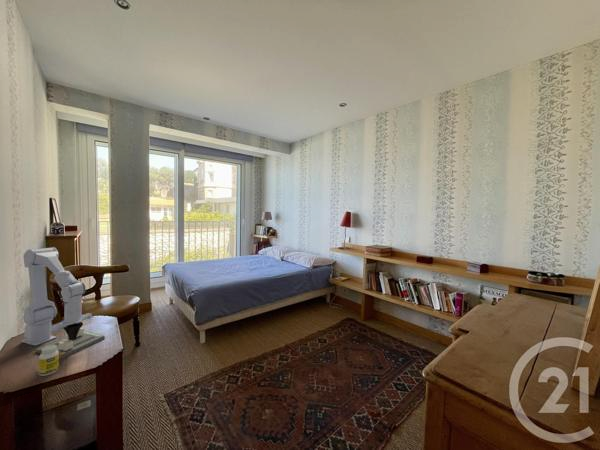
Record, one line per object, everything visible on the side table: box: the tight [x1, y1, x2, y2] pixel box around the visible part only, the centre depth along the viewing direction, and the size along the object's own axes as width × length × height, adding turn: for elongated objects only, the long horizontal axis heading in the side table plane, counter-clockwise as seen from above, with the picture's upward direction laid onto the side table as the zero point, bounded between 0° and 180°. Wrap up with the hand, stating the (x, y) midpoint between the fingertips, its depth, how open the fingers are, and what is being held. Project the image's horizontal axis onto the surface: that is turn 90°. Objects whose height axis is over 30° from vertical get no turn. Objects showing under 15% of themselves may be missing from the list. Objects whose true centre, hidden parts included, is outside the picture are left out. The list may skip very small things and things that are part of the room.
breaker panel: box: [35, 330, 105, 360], centre depth 114 cm, size 15×18×2 cm
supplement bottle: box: [38, 345, 60, 377], centre depth 95 cm, size 5×5×10 cm
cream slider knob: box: [77, 327, 85, 337], centre depth 119 cm, size 4×3×3 cm
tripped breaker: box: [59, 339, 73, 351], centre depth 108 cm, size 4×3×3 cm
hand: (72, 339), depth 110 cm, fingers closed
